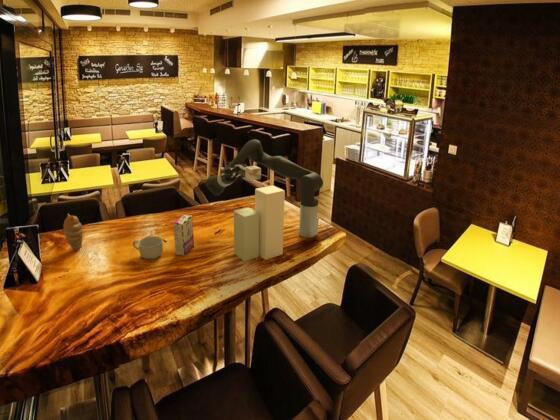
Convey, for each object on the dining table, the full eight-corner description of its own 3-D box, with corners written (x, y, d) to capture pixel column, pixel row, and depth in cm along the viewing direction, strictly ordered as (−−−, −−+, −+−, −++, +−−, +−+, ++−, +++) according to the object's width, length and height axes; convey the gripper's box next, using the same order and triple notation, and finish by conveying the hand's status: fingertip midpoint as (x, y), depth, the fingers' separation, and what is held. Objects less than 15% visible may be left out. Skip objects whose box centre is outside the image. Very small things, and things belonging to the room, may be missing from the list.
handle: (241, 170, 184) (241, 160, 182) (260, 179, 171) (261, 168, 169) (232, 171, 181) (232, 161, 179) (251, 180, 168) (251, 169, 167)
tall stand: (271, 247, 191) (273, 185, 179) (282, 254, 184) (284, 190, 173) (254, 252, 185) (255, 188, 174) (265, 259, 178) (266, 194, 167)
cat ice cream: (64, 249, 182) (57, 214, 175) (81, 244, 187) (75, 210, 181) (71, 256, 176) (65, 219, 170) (89, 250, 182) (83, 215, 175)
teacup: (168, 253, 181) (167, 238, 178) (154, 263, 172) (152, 247, 169) (143, 248, 185) (142, 233, 183) (128, 258, 176) (126, 242, 173)
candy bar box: (185, 245, 190) (183, 214, 184) (194, 246, 189) (192, 215, 184) (174, 255, 180) (172, 222, 174) (184, 256, 179) (182, 224, 173)
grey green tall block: (248, 249, 187) (248, 207, 180) (258, 256, 181) (259, 213, 173) (234, 253, 183) (233, 210, 175) (244, 261, 176) (244, 216, 168)
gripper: (241, 182, 196) (257, 173, 181) (216, 186, 188) (230, 177, 174) (237, 168, 196) (253, 157, 182) (212, 172, 188) (226, 161, 174)
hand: (242, 167), depth 178 cm, fingers closed on handle, 3 cm apart
